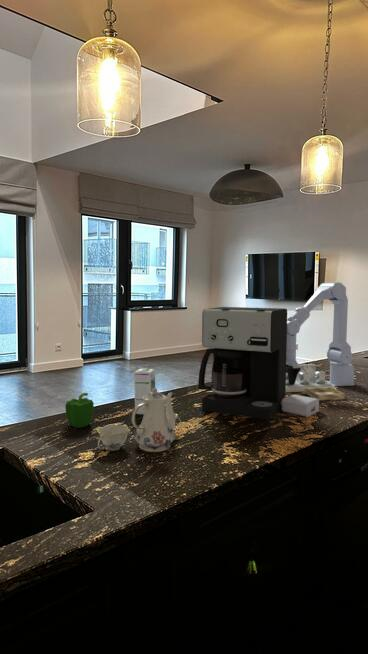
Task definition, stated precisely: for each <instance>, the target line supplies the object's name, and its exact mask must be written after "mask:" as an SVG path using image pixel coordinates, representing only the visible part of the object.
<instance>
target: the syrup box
mask: <svg viewBox="0 0 368 654" xmlns="http://www.w3.org/2000/svg"><path fill="white" fill-rule="evenodd" d="M133 381H134V388H133V389H134V409H135V408H136V407H137V406H138V405H140V404H142V403H144V400H143V396H146V395H148V394H149V393H150V392H152V389H153V388H154V387H156V369H154V368H145V367H144V368H139V369H137V370H136V371H135V370H134V371H133ZM143 406H145V405H143ZM136 415H144V410H143V409H142V406H141V407H140V408H139V409H138V410H137V412H136Z"/></svg>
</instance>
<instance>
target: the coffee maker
mask: <svg viewBox="0 0 368 654" xmlns="http://www.w3.org/2000/svg"><path fill="white" fill-rule="evenodd" d="M201 315H202V316H201V317H202V325H201V326H202V328H201V329H202V337H201V339H202V341H201V342H202V344H201V345H202V347H203V348H207V349H206V350H205V352H204V354H203V357H202V359H201V363H200V366H199V372H198V385H197V387H198V390H202V391H203V390H204V391H212V392H211V393H209V394H207V395H205V396H204V397H202V399H201V410H202V411H205V412H213V413H219V414H226V415H227V414H228V415H234V416H240V417H247V418H256V419H262V420H269V421H270V420H271V419H273V417H275V416H276V415H277V414H278V413H279V412H280V411H282V409H281V404H280V403H281V400H282V399H283V398H286V394H287V392H286V350H287V319H288V309H287V308H279V307H277V308H276V307H275V308H274V307H245V306H243V307H240V306H238V307H237V306H220V307H218V306H217V307H209V308H204V309H203V311H202V314H201ZM211 354H212V356H213V360H212V361H213V362H212V366H211V367H212V368H211V384H206V383H205V378H206V371H207V365H208V361H209V358H210V355H211Z"/></svg>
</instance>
